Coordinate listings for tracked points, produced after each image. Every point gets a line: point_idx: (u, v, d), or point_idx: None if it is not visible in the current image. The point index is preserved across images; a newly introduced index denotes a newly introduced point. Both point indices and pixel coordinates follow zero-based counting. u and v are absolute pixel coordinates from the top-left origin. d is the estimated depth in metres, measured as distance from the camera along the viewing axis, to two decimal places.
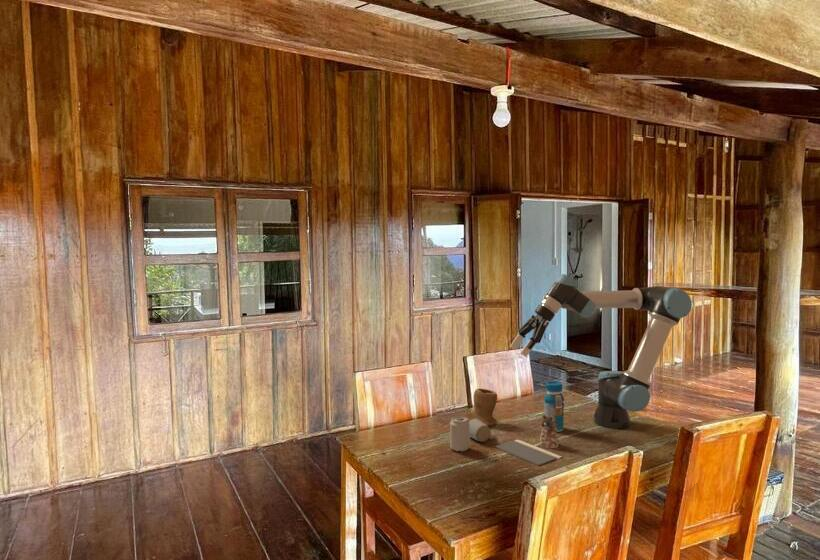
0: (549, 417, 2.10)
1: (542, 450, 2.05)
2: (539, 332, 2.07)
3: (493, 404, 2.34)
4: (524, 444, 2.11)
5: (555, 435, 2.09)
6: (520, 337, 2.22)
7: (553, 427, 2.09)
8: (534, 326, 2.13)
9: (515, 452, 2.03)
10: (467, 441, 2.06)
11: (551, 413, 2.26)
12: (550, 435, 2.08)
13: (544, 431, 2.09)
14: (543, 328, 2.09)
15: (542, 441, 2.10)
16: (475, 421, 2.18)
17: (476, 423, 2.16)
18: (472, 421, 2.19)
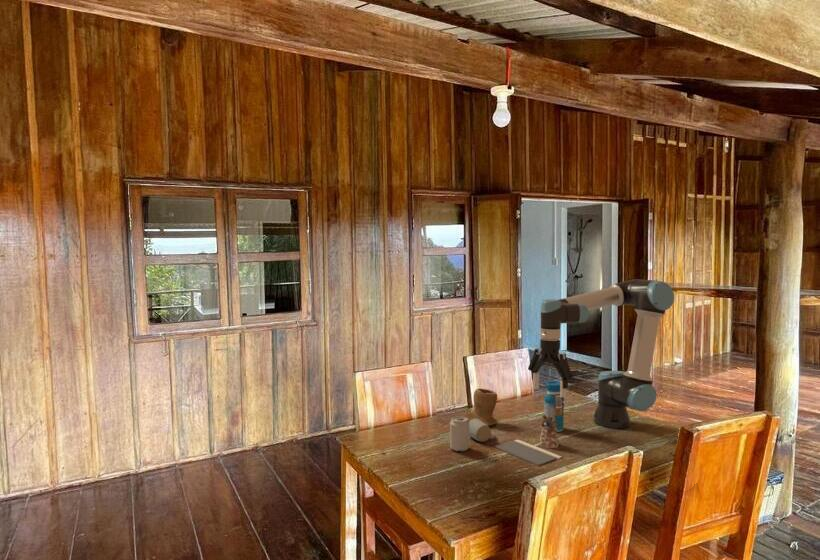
0: (549, 417, 2.10)
1: (542, 450, 2.05)
2: (566, 369, 2.02)
3: (493, 404, 2.34)
4: (524, 444, 2.11)
5: (555, 435, 2.09)
6: (536, 374, 2.15)
7: (553, 427, 2.09)
8: (553, 364, 2.06)
9: (515, 452, 2.03)
10: (467, 441, 2.06)
11: (551, 413, 2.26)
12: (550, 434, 2.08)
13: (544, 431, 2.09)
14: (565, 363, 2.04)
15: (542, 441, 2.10)
16: (475, 421, 2.18)
17: (476, 423, 2.17)
18: (472, 421, 2.19)
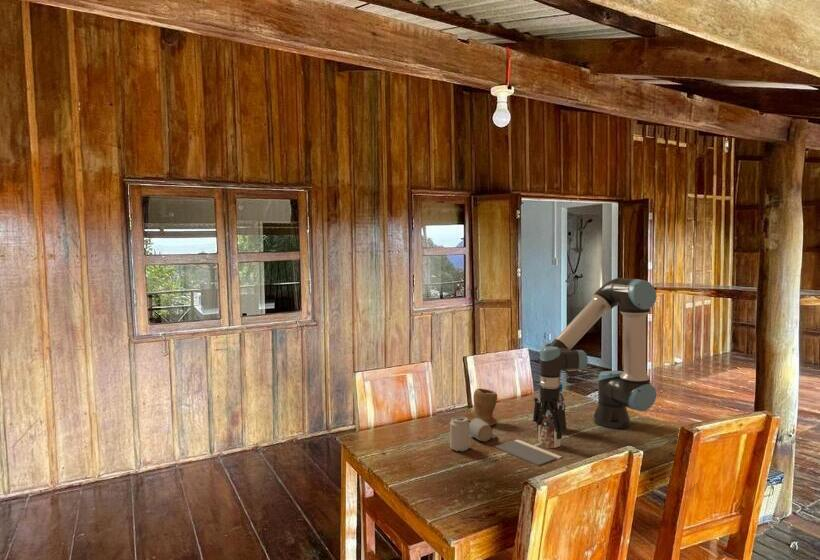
0: (549, 417, 2.10)
1: (542, 450, 2.05)
2: (562, 421, 2.05)
3: (493, 404, 2.34)
4: (524, 444, 2.11)
5: None
6: None
7: (553, 427, 2.09)
8: (551, 413, 2.08)
9: (515, 452, 2.03)
10: (467, 441, 2.06)
11: None
12: (550, 434, 2.08)
13: (544, 431, 2.09)
14: (563, 414, 2.05)
15: (542, 441, 2.10)
16: (477, 421, 2.18)
17: (478, 423, 2.17)
18: (474, 421, 2.19)
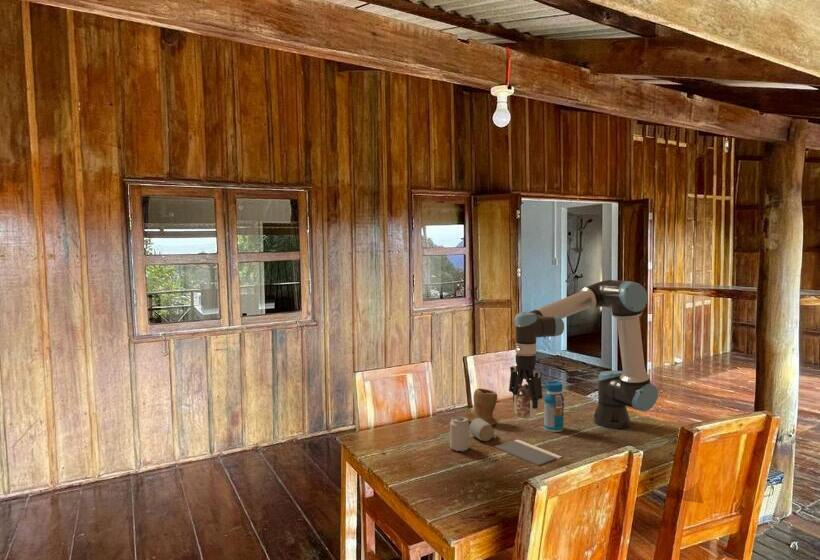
0: (525, 386, 2.01)
1: (542, 450, 2.05)
2: (538, 389, 1.96)
3: (493, 404, 2.34)
4: (524, 444, 2.11)
5: None
6: None
7: (529, 396, 2.00)
8: (527, 381, 1.99)
9: (515, 452, 2.03)
10: (467, 441, 2.06)
11: (551, 413, 2.26)
12: (526, 404, 1.99)
13: (520, 400, 2.00)
14: (539, 382, 1.96)
15: (517, 411, 2.01)
16: (478, 420, 2.19)
17: (479, 422, 2.17)
18: (475, 420, 2.19)
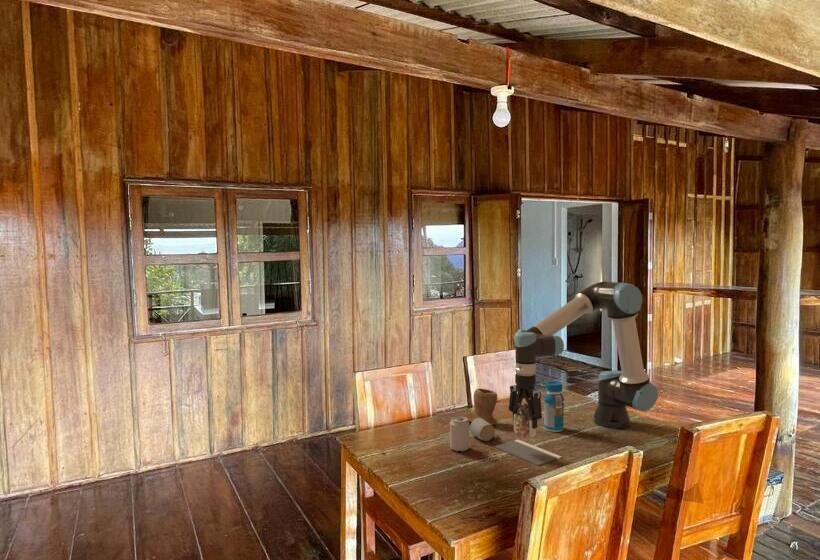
0: (524, 405, 2.01)
1: (542, 450, 2.05)
2: (537, 409, 1.96)
3: (493, 404, 2.34)
4: (524, 444, 2.11)
5: None
6: (517, 416, 2.05)
7: (528, 416, 2.00)
8: (526, 401, 1.99)
9: (515, 452, 2.03)
10: (467, 441, 2.06)
11: (551, 413, 2.26)
12: (526, 424, 1.99)
13: (519, 420, 2.01)
14: (538, 402, 1.97)
15: (517, 430, 2.01)
16: (479, 420, 2.19)
17: (480, 422, 2.17)
18: (476, 420, 2.20)
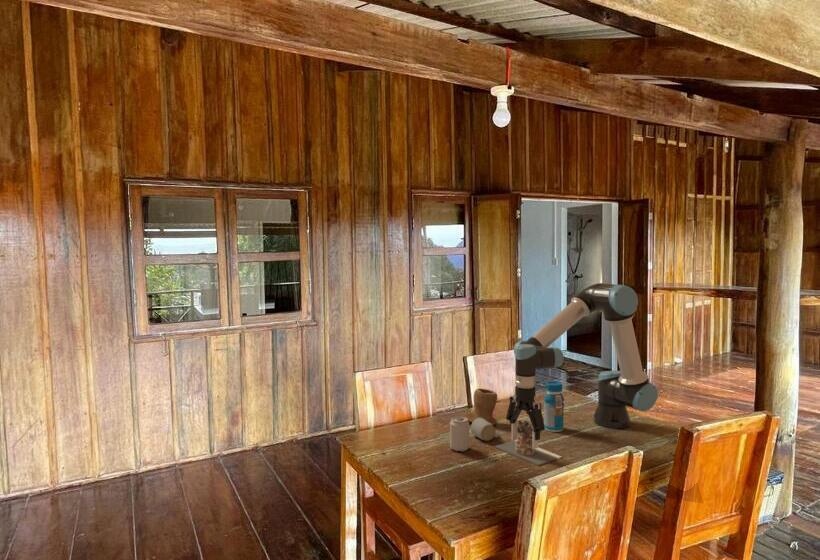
0: (524, 423, 2.01)
1: (542, 450, 2.05)
2: (539, 421, 1.96)
3: (493, 404, 2.34)
4: None
5: (531, 441, 2.01)
6: (515, 425, 2.07)
7: (529, 433, 2.00)
8: (527, 413, 1.99)
9: (515, 452, 2.03)
10: (467, 441, 2.06)
11: (551, 413, 2.26)
12: (526, 441, 2.00)
13: (519, 437, 2.01)
14: (539, 413, 1.97)
15: (517, 448, 2.02)
16: (480, 420, 2.19)
17: (481, 422, 2.18)
18: (477, 420, 2.20)
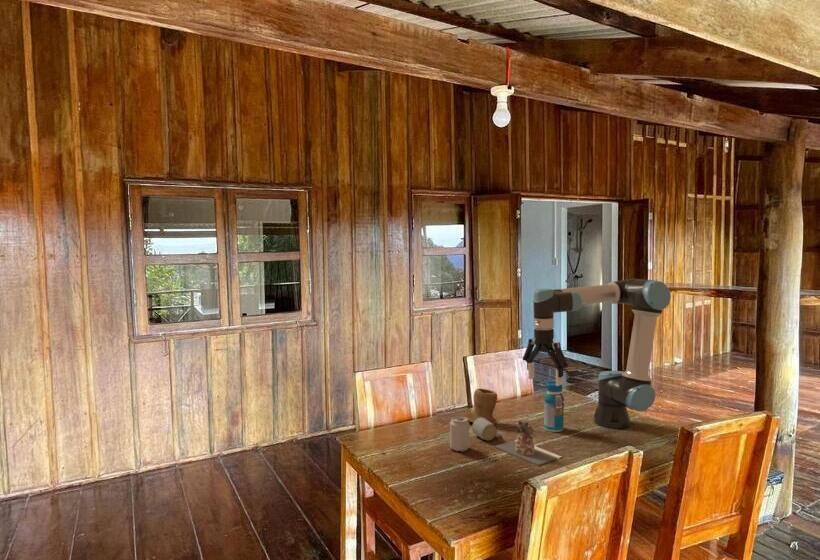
0: (525, 423, 2.02)
1: (542, 450, 2.05)
2: (561, 358, 2.03)
3: (493, 404, 2.34)
4: None
5: (531, 441, 2.01)
6: (531, 364, 2.16)
7: (529, 433, 2.01)
8: (548, 353, 2.07)
9: (515, 452, 2.03)
10: (467, 441, 2.06)
11: (551, 413, 2.26)
12: (526, 441, 2.00)
13: (520, 437, 2.01)
14: (560, 351, 2.04)
15: (517, 448, 2.02)
16: (481, 420, 2.19)
17: (482, 422, 2.18)
18: (478, 420, 2.20)
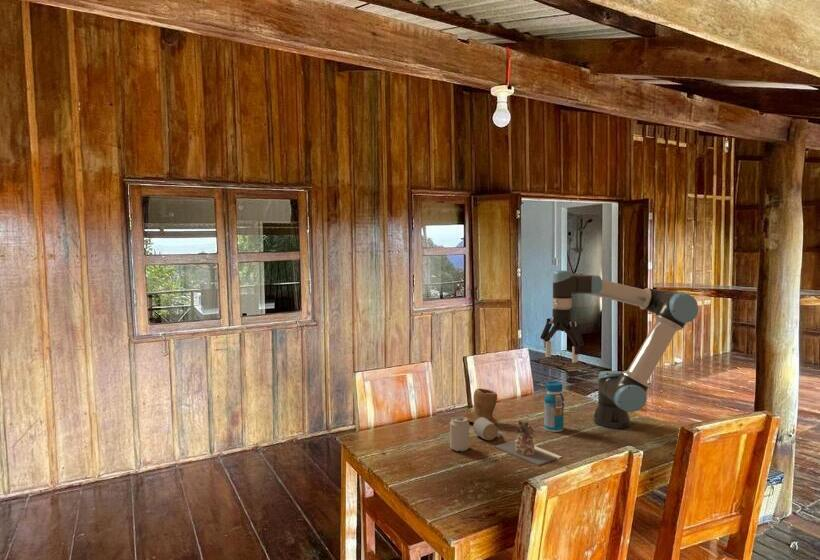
0: (525, 423, 2.02)
1: (542, 450, 2.05)
2: (578, 336, 2.13)
3: (493, 404, 2.34)
4: None
5: (531, 441, 2.01)
6: (549, 343, 2.26)
7: (529, 433, 2.01)
8: (565, 331, 2.17)
9: (515, 452, 2.03)
10: (467, 441, 2.06)
11: (551, 413, 2.26)
12: (526, 441, 2.00)
13: (520, 437, 2.01)
14: (577, 330, 2.14)
15: (517, 448, 2.02)
16: (482, 420, 2.20)
17: (483, 421, 2.18)
18: (479, 420, 2.20)
